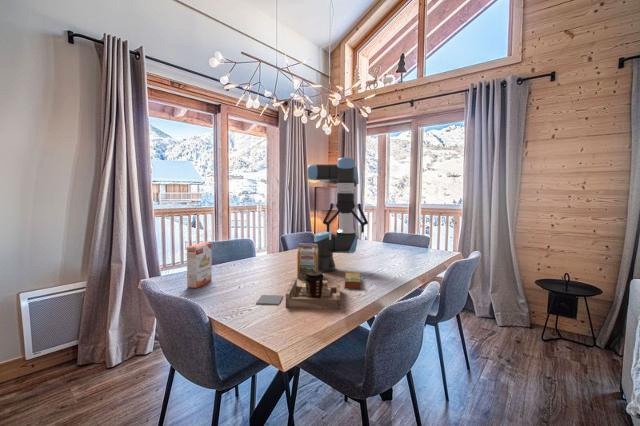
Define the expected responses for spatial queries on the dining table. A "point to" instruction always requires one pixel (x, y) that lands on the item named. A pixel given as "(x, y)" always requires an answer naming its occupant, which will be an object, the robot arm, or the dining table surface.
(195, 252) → the cracker box
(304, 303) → the brown wooden tray
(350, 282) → the carton
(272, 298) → the coaster
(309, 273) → the coffee cup
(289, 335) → the dining table surface
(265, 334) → the dining table surface
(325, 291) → the offcut stack
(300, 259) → the milk carton
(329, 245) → the robot arm
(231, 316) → the dining table surface
